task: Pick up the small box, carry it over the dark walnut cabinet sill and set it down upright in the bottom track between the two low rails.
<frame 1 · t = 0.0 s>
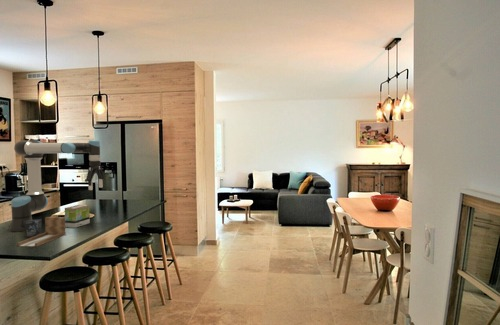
hand: (95, 188, 241), 28 cm above the countertop, fingers open, 13 cm apart
tea box: (77, 225, 244), on the countertop
track: (41, 240, 205), on the countertop
box: (34, 236, 216), on the countertop
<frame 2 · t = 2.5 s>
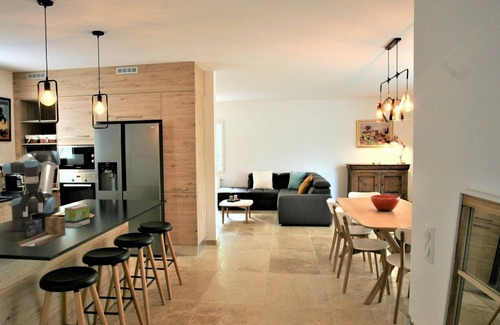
hand: (33, 214, 215), 15 cm above the countertop, fingers open, 13 cm apart
nothing on the countertop moved.
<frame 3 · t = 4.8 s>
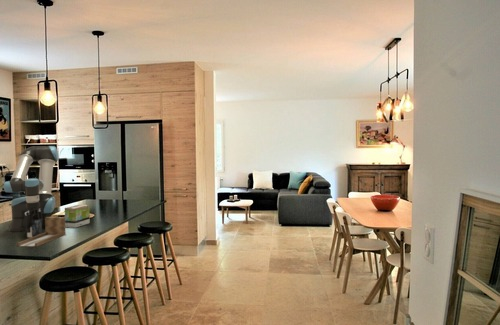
hand: (34, 235, 216), 0 cm above the countertop, fingers open, 7 cm apart
nothing on the countertop moved.
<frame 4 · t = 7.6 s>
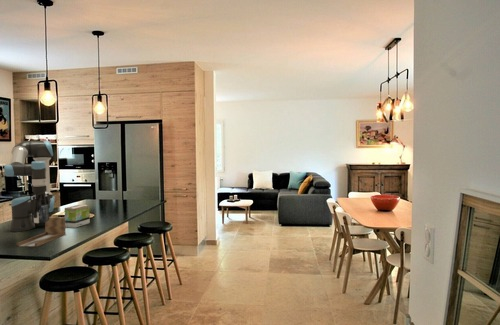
hand: (40, 221, 204), 12 cm above the countertop, fingers closed on box, 7 cm apart
box: (40, 222, 204), point 12 cm above the countertop, touching gripper
everything else where it was.
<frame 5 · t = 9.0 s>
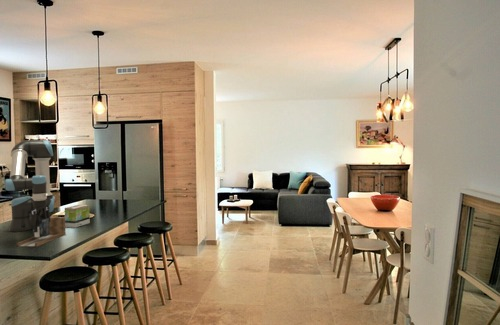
hand: (41, 235, 204), 3 cm above the countertop, fingers closed on box, 7 cm apart
box: (41, 236, 204), point 3 cm above the countertop, touching gripper
everything else where it was.
when the fingers open (2 cm above the countertop, at t = 10.0 s): box drops 2 cm, resting on track.
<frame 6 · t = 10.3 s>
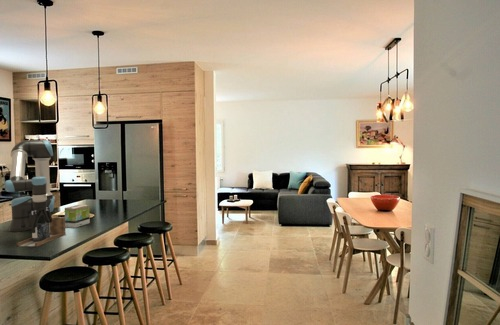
hand: (41, 235, 205), 3 cm above the countertop, fingers open, 10 cm apart
box: (41, 240, 204), resting on track
everything else where it was.
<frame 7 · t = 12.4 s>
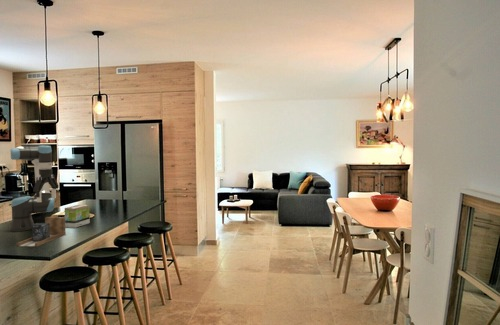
hand: (46, 200, 216), 24 cm above the countertop, fingers open, 13 cm apart
nothing on the countertop moved.
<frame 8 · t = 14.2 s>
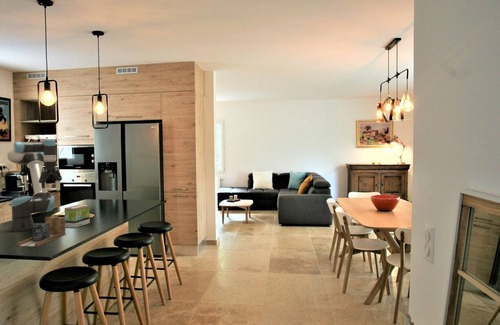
hand: (51, 191, 224), 29 cm above the countertop, fingers open, 13 cm apart
nothing on the countertop moved.
at the end: box inside the target area on the track (0.2 cm from its centre), point 0.1 cm above the track's base; box tilted 0°; the gripper is holding nothing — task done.
